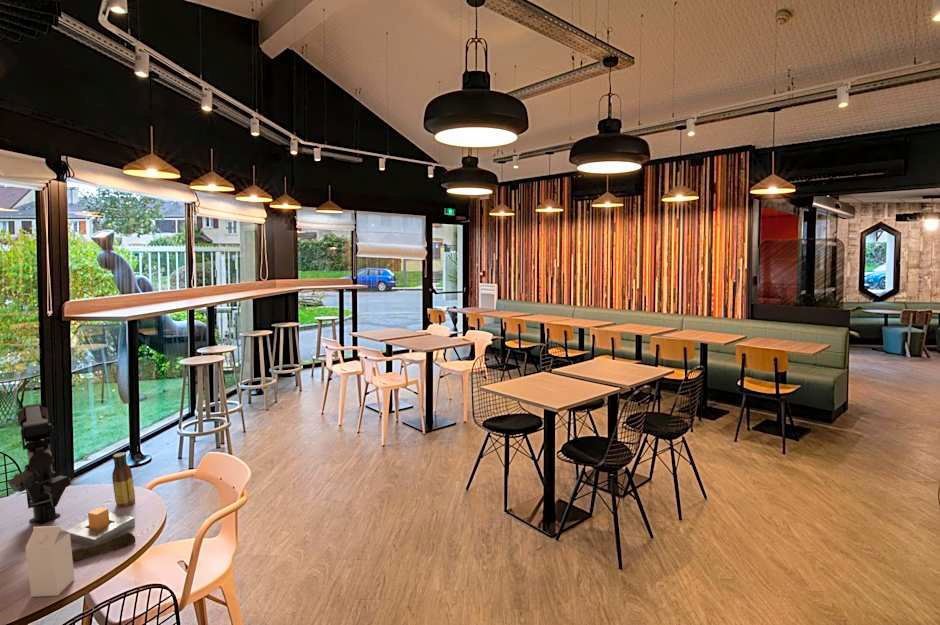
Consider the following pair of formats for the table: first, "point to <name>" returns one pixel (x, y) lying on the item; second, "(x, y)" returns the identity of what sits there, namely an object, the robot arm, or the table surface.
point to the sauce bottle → (122, 481)
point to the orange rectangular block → (98, 518)
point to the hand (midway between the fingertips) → (44, 504)
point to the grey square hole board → (90, 536)
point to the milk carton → (49, 561)
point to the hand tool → (104, 546)
